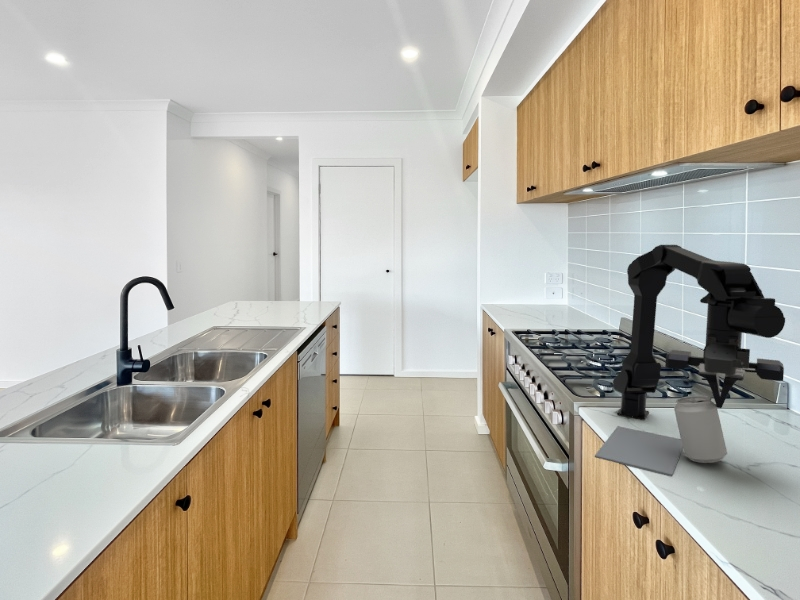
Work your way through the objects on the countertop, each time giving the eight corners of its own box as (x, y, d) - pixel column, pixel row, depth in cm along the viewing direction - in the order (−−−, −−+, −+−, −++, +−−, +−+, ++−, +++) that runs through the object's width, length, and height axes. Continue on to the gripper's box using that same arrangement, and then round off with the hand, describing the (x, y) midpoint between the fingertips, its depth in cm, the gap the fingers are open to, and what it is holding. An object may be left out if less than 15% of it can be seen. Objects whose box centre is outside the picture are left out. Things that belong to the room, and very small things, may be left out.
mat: (617, 427, 115) (617, 426, 115) (685, 441, 107) (685, 439, 107) (594, 457, 99) (594, 455, 99) (672, 476, 91) (672, 474, 91)
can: (707, 467, 93) (693, 405, 93) (676, 458, 100) (663, 400, 100) (737, 456, 94) (724, 396, 95) (705, 448, 102) (692, 392, 102)
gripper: (662, 330, 92) (659, 409, 94) (787, 340, 81) (781, 429, 83) (671, 322, 101) (667, 395, 103) (784, 330, 90) (779, 412, 92)
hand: (719, 407), depth 95 cm, fingers closed
